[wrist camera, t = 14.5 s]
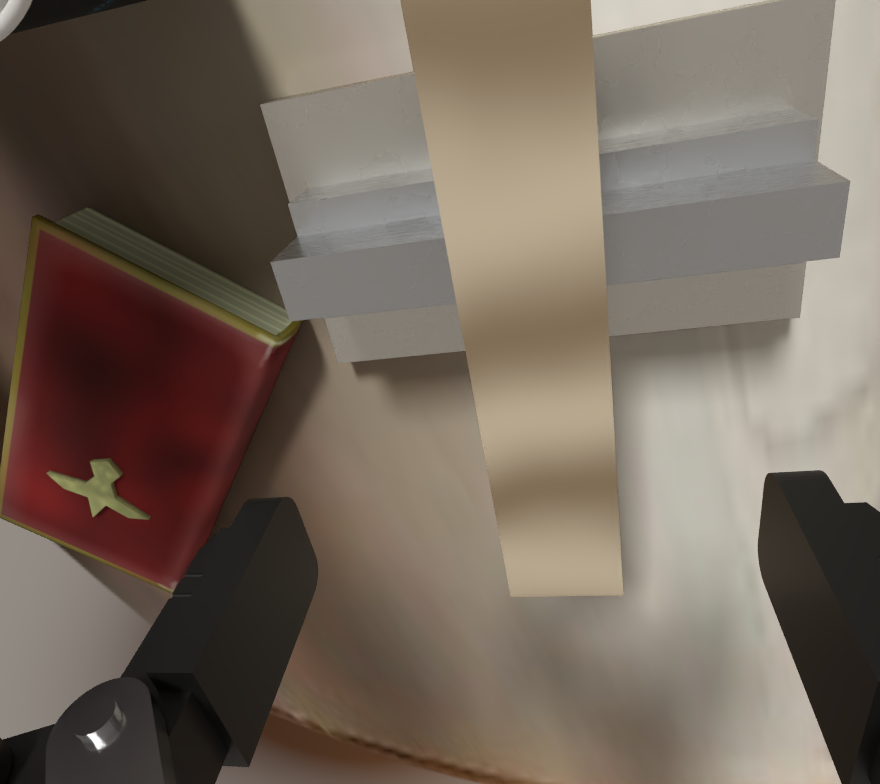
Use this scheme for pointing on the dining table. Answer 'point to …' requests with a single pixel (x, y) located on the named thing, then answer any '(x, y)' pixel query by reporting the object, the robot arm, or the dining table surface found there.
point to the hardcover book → (131, 395)
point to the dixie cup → (48, 12)
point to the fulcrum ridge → (622, 186)
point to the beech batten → (528, 272)
